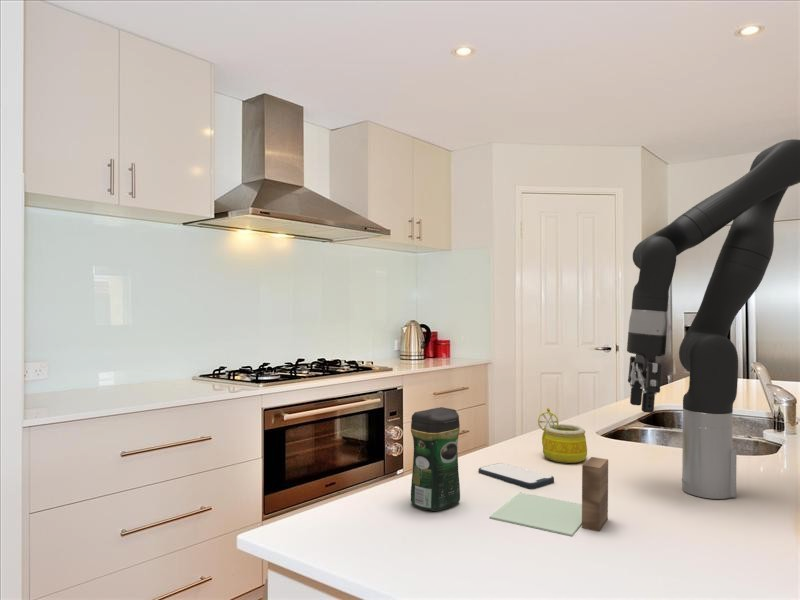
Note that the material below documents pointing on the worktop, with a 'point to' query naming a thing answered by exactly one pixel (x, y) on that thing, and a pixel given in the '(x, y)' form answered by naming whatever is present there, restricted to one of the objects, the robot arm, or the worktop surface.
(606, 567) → the worktop surface
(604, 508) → the walnut block
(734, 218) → the robot arm
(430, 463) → the coffee jar
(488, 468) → the smartphone
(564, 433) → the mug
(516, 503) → the mat
